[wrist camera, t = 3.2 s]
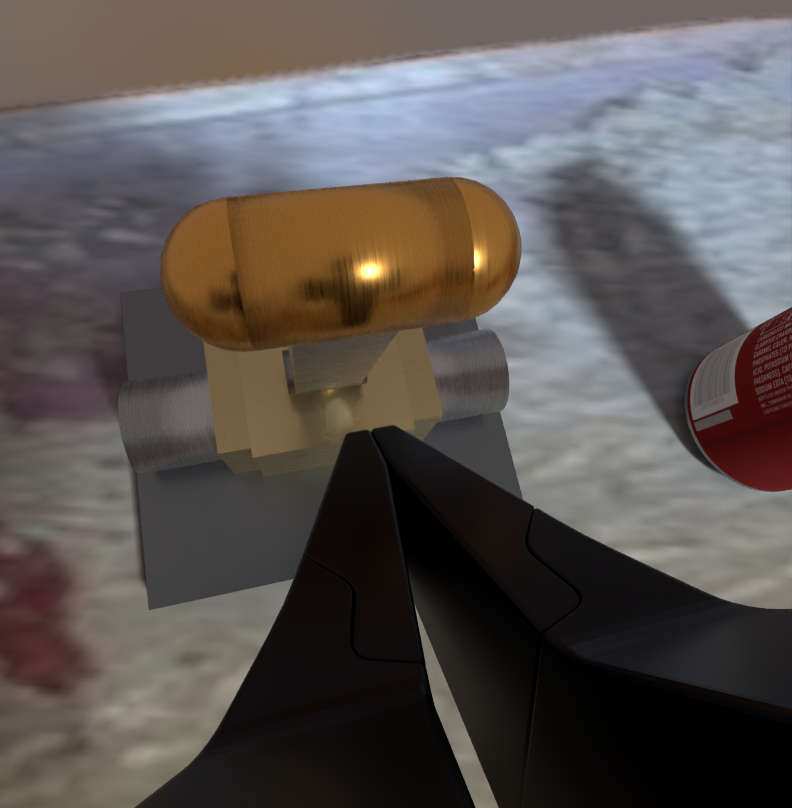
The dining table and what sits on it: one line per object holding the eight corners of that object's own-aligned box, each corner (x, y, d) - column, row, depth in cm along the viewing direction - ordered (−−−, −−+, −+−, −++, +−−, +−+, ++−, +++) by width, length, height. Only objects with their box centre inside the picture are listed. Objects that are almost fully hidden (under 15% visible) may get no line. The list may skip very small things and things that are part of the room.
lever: (411, 391, 18) (560, 289, 8) (243, 418, 17) (154, 344, 7) (399, 326, 19) (528, 141, 8) (232, 349, 18) (128, 173, 7)
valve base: (519, 529, 23) (572, 519, 18) (158, 607, 20) (109, 619, 16) (452, 267, 26) (482, 199, 21) (129, 306, 23) (81, 239, 19)
